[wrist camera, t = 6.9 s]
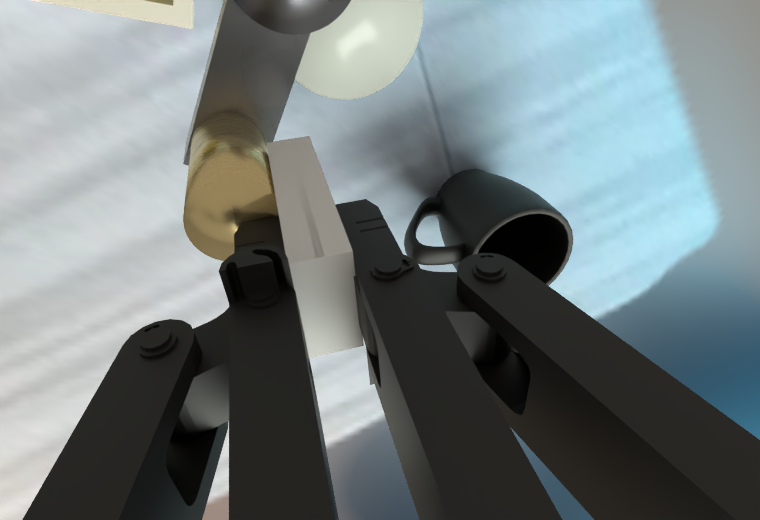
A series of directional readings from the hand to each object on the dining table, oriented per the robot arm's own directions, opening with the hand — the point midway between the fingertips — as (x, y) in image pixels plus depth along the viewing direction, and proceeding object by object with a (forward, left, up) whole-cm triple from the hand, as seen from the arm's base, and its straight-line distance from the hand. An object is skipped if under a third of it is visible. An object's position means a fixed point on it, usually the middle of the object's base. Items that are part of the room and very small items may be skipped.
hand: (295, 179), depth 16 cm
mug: (+16, -9, -19) cm, 27 cm away
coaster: (+5, +3, -19) cm, 20 cm away
